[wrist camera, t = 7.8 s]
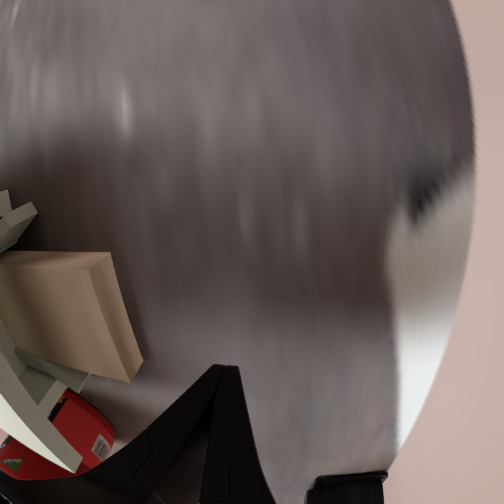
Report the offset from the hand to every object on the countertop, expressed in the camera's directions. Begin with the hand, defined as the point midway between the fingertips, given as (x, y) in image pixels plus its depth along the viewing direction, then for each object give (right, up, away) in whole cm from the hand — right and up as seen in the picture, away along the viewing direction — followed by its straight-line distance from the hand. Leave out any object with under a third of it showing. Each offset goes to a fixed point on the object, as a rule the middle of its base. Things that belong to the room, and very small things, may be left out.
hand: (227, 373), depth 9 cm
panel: (-10, +1, +5) cm, 11 cm away
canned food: (-14, -10, +10) cm, 20 cm away
